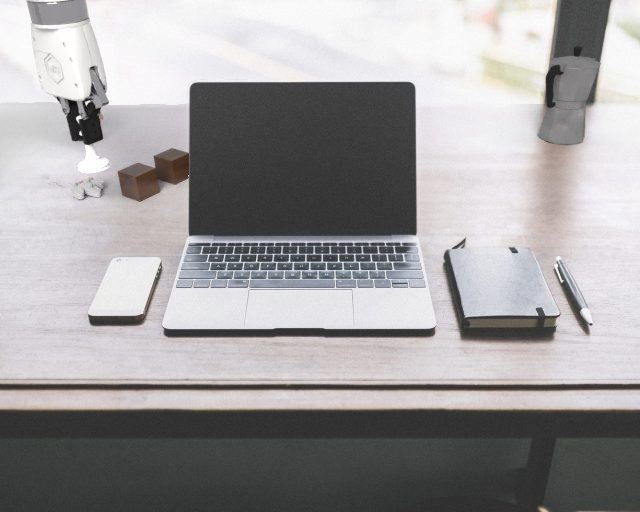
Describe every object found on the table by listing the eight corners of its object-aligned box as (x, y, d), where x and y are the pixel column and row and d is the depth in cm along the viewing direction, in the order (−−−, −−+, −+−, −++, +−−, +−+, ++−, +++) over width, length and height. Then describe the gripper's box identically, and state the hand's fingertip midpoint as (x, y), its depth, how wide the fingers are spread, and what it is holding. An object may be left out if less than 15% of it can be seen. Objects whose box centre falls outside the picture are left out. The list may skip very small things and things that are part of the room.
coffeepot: (558, 124, 133) (575, 37, 124) (599, 135, 127) (620, 44, 117) (515, 141, 125) (529, 49, 115) (556, 154, 118) (575, 58, 109)
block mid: (122, 195, 106) (117, 171, 103) (142, 186, 109) (137, 162, 107) (140, 201, 104) (135, 177, 101) (160, 192, 107) (156, 167, 104)
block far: (157, 179, 111) (153, 155, 109) (175, 170, 115) (171, 147, 112) (174, 184, 109) (171, 161, 107) (192, 176, 112) (189, 152, 110)
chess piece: (111, 159, 99) (98, 97, 94) (109, 171, 95) (95, 107, 90) (79, 162, 98) (64, 100, 93) (76, 174, 94) (60, 110, 89)
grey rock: (96, 202, 104) (92, 188, 102) (32, 199, 105) (28, 185, 104) (110, 187, 108) (107, 174, 107) (49, 185, 110) (46, 171, 109)
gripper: (0, 12, 86) (34, 138, 96) (72, 23, 78) (102, 159, 88) (47, 3, 91) (75, 124, 101) (119, 13, 83) (142, 142, 93)
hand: (87, 139), depth 94 cm, fingers closed on chess piece
